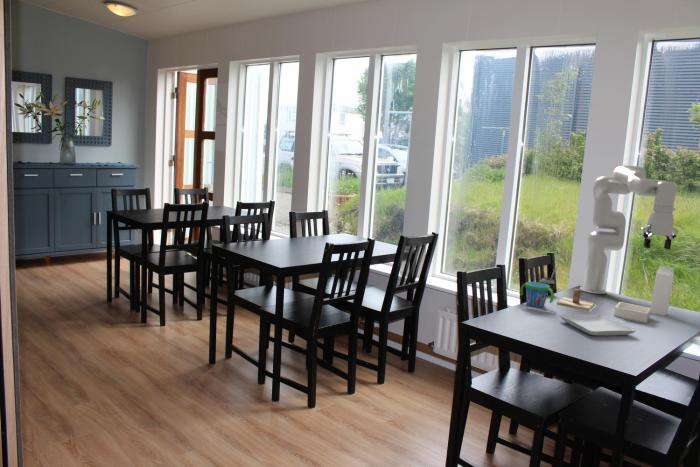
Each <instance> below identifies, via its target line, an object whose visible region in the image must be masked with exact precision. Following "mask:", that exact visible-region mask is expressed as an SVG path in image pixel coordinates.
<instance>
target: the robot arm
mask: <svg viewBox="0 0 700 467" xmlns="http://www.w3.org/2000/svg"><path fill="white" fill-rule="evenodd" d="M677 185H678V184H677V183H676V182H674V181H666V180H663V179H653V178H652V179H651V178H647V171H646V169H645V168H643V167H641V166H636V165H625V164H624V165H619V166H617V167H615V169H614V170H613V176H607V175H603V176H599V177H597V178H596V180H595V181H594V183H593V188H592V192H593V202H594V203H593V214H592V225H593V226H594V228H597V229H601V231H600V230H597V231H592V232H590V234H589V235H588V237H587V257H586V265H585V272H584V279H583V285H582V286H579V290H581V292H582V291H583V292H586V293H588V294H589V293H590V294H594V295H595V294H596V295H603V294H606V293H607V292H606V289H604V283H605V278H606V270H607V262H608V258H607V255H606V253H605V251H612V252H613V251H620V250H621V249H622V248H623V247H624V242H625V236H626V234H625V233H626V226H627V225H626V224H627V223H626V220H627V219H626V217H625V214H624V213H623V212H621V211H617V210H613V200H612V199H611V196H610V194H613V195H615V194H616V195H628V194H630V193H633V194H635V195H638V196H642V197H653V198H654V202H653V210H652V211H651V212H650V214H649V216H648V218H647V219H648V220H647V223H646V225H645V226H643V227H641V228H640V232H641V235H642V236H643V239H644V241H643V248H645V249H650V248H651V241H652V239H651V238H652V237H653V236H656V237H657V236H661V237H665V240H664V246H663V248H664V249H665V250H671V247H672V242H673V241H674V239H675V238H676V237H677V235H678V233H679V230H678V229H677V228H676V227H674V221H675V220H674V219H675V217H674V216H675V215H674V213H673V212H675V211H676V208H675V207H674V206H675V200H676V193H677V187H678V186H677ZM603 229H604V230H611V231H603Z"/></svg>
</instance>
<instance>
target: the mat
mask: <svg viewBox="0 0 700 467" xmlns="http://www.w3.org/2000/svg"><path fill="white" fill-rule="evenodd" d="M559 300H560V299H558V300H557V301H559ZM557 301H555V303H553V305H556V306H561V307H565V308H571V309H575V310H580V311H585V312H592V311H593V310H594V309H595V308H596V307H597V304H594V306H593V307H592V308H591V309H590V310H589V311H587V310H582V309H577V308H573V307H568V306H563V305H558V304H556V303H557Z"/></svg>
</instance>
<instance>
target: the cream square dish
mask: <svg viewBox="0 0 700 467" xmlns="http://www.w3.org/2000/svg"><path fill="white" fill-rule="evenodd" d="M650 312H651V307H648V306H642V305H638V304H633V303H628V302H622V301H619V302H618V303H617V304H616V305H615V306H614V311H613V316H614V317H618V318H623V320H626V321H630V322H636V323H640V324H645V325H646V324H647V323H648V321H649V320H650V316H651V313H650Z"/></svg>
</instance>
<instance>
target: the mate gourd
mask: <svg viewBox="0 0 700 467" xmlns="http://www.w3.org/2000/svg"><path fill="white" fill-rule="evenodd" d="M559 266H560V265H559V264H558V265H557V266H555V268H554V269H553V270H552V271H553V272H552V274H551V277H550V278H549V277H548V278H547V277H542V278H541V280H540V282H539V283H544V284H547V285H549V286H550V288H551V289H552V291H553V293H554V291H555V289H556V288H555V286H556V282H555V279H553V277H554V274H555V272H556V271H557V268H559ZM547 295H550V296H551V292H550V291H549V290H548V294H547Z"/></svg>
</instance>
